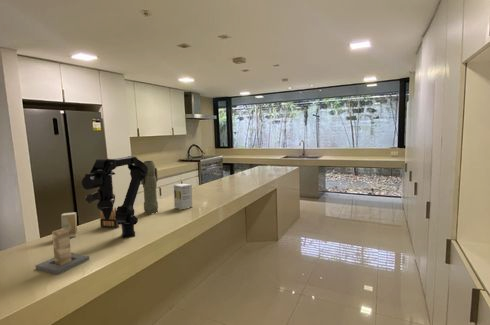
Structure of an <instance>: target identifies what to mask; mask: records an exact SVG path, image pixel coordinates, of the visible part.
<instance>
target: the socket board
mask: <svg viewBox="0 0 490 325" xmlns="http://www.w3.org/2000/svg"><path fill="white" fill-rule="evenodd" d="M87 261H90V256H89V255H85V254H84V255H83V254H79V253H74V252H71V261H70V262H68V263H66V264H64V265H61V266H58V265H55V258H54V257H53V258H50V259H48V260H46V261H42V262H41V263H38V264H35V269H36V270H38V271H42V272H45V273H50V274H54V275H57V276H58V275H61V274H63V273H64V272H67V271H69V270H71V269H73V268H75V267H77V266H79V265H81V264H84V263H86V262H87Z"/></svg>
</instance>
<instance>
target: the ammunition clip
mask: <svg viewBox="0 0 490 325" xmlns="http://www.w3.org/2000/svg"><path fill="white" fill-rule="evenodd" d="M116 211H117V207H115V206H114V207H113V209H112V212H111V215H110V218H109V221H106V220H105V217H104V214H103V212H102V211H101V210H100V219H99V221H100V228H102V229H104V228H105V229H119V227H120V226H119V225H120V224H119V225H118V223H117V221H116V218H115V215H116V214H115V213H116Z"/></svg>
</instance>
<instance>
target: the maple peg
mask: <svg viewBox="0 0 490 325" xmlns="http://www.w3.org/2000/svg"><path fill="white" fill-rule="evenodd" d="M51 236H52V246H53V258H55V264H54V265H58V266H61V265H64V264H66V263H68V262H70V261H72V260H71V253H72V250H71V240H70V238H71V237H70V238H69V230H68V229H62V228H60V229H56V230H53V231H51Z"/></svg>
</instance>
